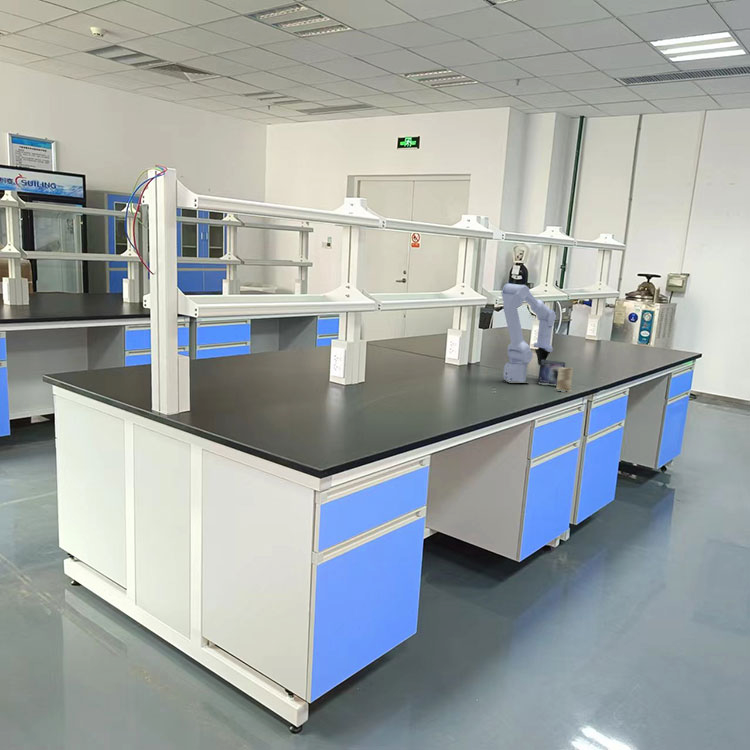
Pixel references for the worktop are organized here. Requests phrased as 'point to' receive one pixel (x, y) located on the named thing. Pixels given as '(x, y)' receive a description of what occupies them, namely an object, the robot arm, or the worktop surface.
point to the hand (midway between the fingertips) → (541, 365)
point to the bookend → (564, 379)
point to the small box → (549, 371)
